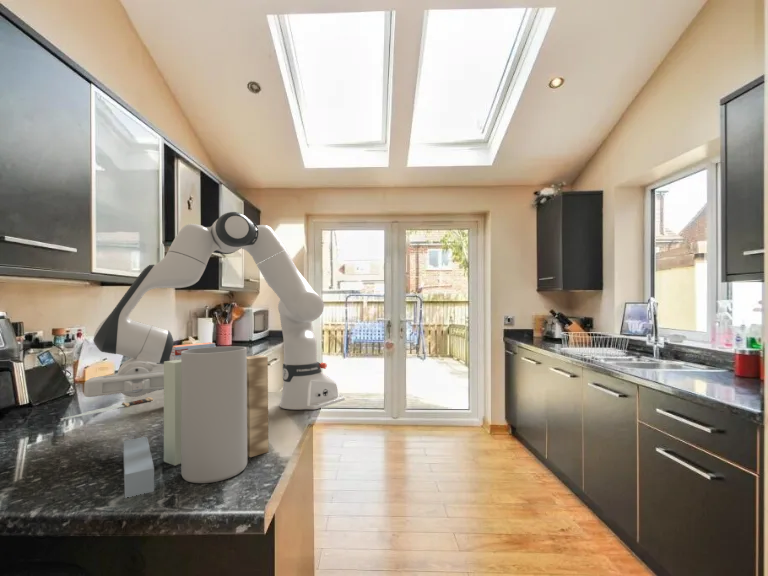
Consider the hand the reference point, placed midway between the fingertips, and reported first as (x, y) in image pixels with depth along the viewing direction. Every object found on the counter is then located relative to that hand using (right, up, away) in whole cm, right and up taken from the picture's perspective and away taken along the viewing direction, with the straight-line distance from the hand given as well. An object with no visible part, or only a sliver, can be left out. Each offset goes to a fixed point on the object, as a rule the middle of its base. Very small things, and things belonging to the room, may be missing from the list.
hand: (137, 387), depth 88 cm
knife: (-37, -19, +44) cm, 60 cm away
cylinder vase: (+21, -15, -8) cm, 28 cm away
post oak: (+26, -16, +2) cm, 31 cm away
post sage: (+11, -16, -2) cm, 19 cm away
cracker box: (-12, -19, +51) cm, 55 cm away
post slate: (-1, -14, +1) cm, 14 cm away
